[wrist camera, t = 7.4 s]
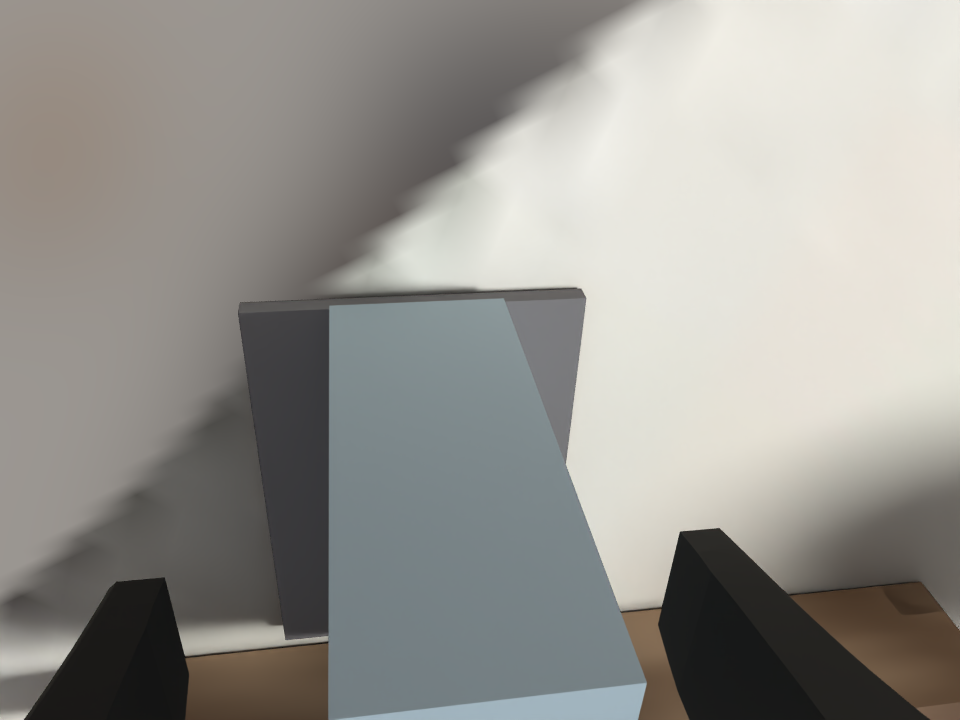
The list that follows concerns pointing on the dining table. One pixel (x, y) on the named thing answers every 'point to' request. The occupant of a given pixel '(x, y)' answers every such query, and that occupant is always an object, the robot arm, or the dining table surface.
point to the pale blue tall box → (459, 531)
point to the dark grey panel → (305, 419)
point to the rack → (843, 614)
